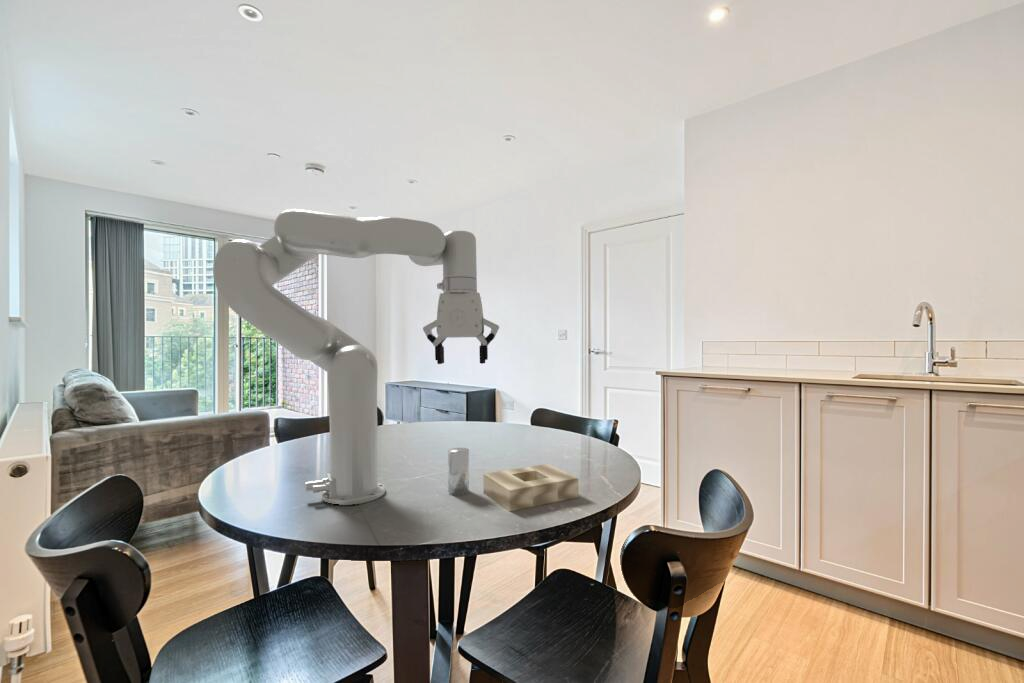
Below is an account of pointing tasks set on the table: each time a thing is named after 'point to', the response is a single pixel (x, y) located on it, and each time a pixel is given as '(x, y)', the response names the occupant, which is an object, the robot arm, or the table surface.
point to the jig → (530, 486)
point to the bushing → (458, 471)
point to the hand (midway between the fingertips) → (461, 363)
